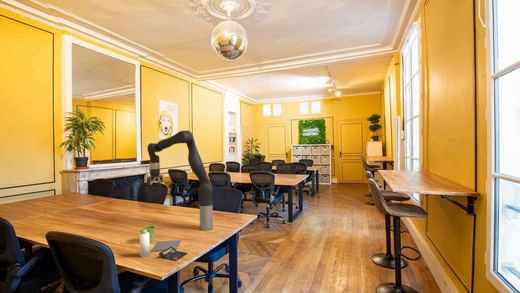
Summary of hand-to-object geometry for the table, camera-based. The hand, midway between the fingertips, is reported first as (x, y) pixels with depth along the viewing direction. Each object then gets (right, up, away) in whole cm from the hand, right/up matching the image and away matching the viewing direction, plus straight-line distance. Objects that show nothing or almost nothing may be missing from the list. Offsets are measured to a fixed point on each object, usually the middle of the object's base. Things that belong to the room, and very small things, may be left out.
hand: (155, 189), depth 191 cm
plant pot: (+11, -27, -37) cm, 47 cm away
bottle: (+19, -27, -57) cm, 66 cm away
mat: (+26, -27, -45) cm, 58 cm away
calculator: (+35, -27, -58) cm, 73 cm away
